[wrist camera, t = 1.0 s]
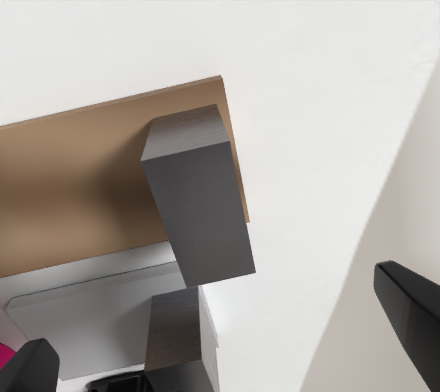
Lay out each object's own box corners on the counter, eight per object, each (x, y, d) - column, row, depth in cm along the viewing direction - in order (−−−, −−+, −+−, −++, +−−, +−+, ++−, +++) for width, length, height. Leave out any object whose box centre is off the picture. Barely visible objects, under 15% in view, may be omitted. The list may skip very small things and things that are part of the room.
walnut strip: (246, 212, 19) (270, 286, 14) (-89, 288, 19) (-189, 388, 14) (220, 75, 15) (239, 107, 10) (-203, 173, 15) (-401, 254, 10)
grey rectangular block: (217, 335, 24) (226, 421, 19) (66, 368, 25) (34, 462, 19) (192, 258, 20) (194, 341, 15) (11, 298, 21) (-47, 394, 15)
